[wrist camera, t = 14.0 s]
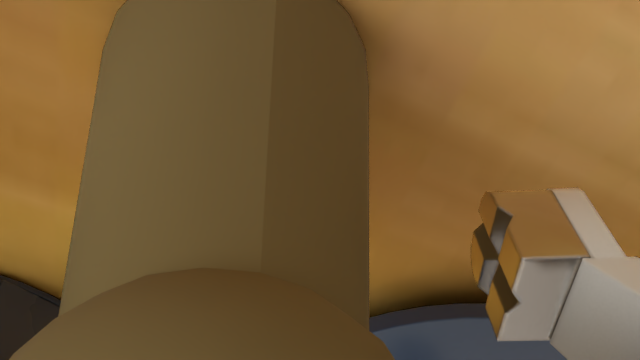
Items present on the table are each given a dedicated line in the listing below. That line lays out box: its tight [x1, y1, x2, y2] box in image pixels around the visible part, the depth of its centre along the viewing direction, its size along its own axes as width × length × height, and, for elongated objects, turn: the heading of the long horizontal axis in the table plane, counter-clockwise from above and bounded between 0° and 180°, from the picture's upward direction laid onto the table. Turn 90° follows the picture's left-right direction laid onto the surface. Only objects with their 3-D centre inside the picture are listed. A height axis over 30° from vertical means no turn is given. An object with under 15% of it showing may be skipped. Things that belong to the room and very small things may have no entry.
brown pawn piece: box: [9, 0, 395, 360], centre depth 10 cm, size 6×6×11 cm
